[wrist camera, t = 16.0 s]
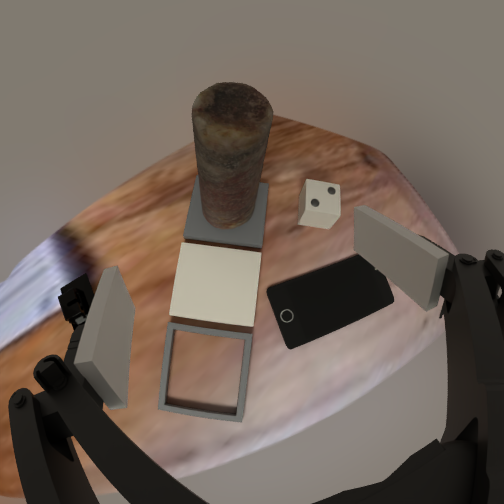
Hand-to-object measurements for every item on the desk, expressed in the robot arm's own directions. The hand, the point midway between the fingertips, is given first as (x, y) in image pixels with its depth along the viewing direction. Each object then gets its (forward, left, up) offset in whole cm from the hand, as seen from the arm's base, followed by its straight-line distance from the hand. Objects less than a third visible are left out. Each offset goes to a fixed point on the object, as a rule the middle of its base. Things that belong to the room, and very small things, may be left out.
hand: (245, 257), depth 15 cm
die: (+10, +16, -25) cm, 31 cm away
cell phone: (+14, +3, -25) cm, 29 cm away
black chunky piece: (-22, -4, -25) cm, 34 cm away
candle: (-3, +14, -23) cm, 27 cm away
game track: (-3, +2, -24) cm, 25 cm away
